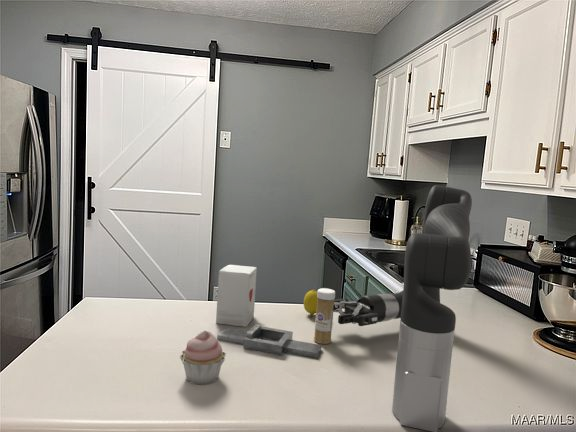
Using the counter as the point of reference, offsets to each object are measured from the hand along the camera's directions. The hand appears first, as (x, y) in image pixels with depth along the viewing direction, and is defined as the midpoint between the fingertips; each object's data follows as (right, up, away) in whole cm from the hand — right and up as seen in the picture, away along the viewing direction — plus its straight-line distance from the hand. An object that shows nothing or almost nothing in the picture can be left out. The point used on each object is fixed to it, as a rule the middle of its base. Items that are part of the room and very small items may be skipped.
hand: (329, 314), depth 107 cm
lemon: (-3, -5, +19) cm, 20 cm away
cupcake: (-28, -8, -22) cm, 37 cm away
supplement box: (-26, -5, +11) cm, 28 cm away
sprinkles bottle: (-2, -7, 0) cm, 7 cm away
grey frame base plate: (-15, -7, -4) cm, 17 cm away
